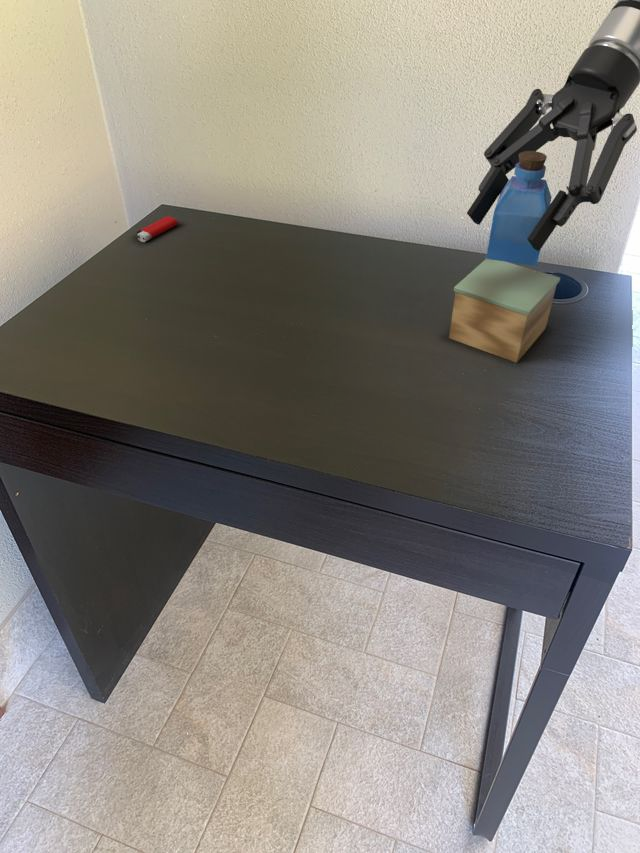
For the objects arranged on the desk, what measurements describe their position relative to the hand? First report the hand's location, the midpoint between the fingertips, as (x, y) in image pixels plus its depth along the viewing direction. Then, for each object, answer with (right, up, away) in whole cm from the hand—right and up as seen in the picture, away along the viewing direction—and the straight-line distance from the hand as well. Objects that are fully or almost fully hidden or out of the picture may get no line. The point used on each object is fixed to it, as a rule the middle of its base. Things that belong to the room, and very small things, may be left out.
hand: (502, 231), depth 83 cm
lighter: (-51, +10, +37) cm, 63 cm away
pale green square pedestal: (+3, -11, +12) cm, 16 cm away
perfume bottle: (+3, -2, +4) cm, 5 cm away
